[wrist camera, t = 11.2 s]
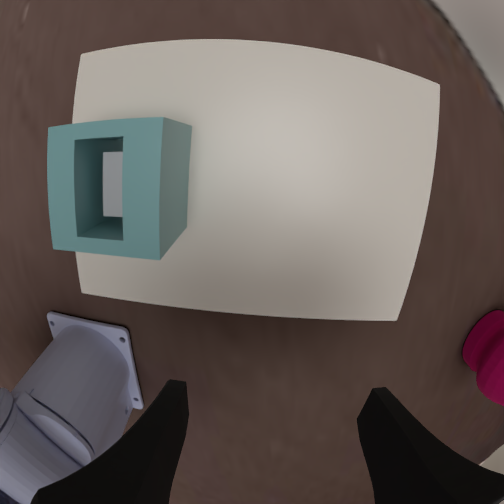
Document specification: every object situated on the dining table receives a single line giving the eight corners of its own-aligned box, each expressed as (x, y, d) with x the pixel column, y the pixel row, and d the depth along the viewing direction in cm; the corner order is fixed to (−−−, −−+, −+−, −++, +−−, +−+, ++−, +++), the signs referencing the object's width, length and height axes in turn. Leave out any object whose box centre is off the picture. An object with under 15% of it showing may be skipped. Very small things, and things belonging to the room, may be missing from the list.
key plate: (390, 311, 19) (416, 349, 15) (89, 285, 19) (56, 317, 15) (430, 87, 14) (472, 77, 9) (90, 58, 13) (50, 41, 9)
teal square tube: (186, 227, 16) (159, 260, 11) (100, 221, 16) (53, 248, 11) (192, 125, 14) (163, 116, 9) (100, 128, 14) (48, 127, 9)
